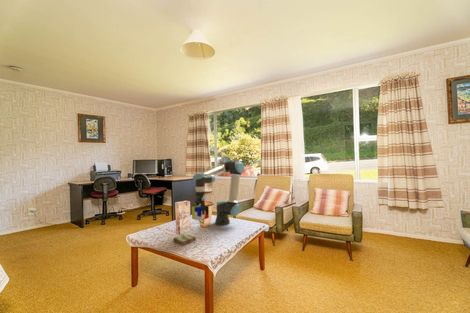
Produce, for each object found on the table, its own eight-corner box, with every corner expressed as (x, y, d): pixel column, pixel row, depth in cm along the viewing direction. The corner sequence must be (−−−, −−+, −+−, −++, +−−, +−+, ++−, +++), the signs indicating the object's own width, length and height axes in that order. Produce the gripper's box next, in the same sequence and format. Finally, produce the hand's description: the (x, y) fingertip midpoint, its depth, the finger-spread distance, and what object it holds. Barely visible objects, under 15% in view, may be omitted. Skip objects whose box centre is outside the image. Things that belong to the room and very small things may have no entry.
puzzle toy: (200, 220, 177) (200, 208, 177) (192, 218, 183) (191, 206, 183) (208, 217, 185) (208, 206, 185) (200, 216, 191) (200, 204, 191)
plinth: (186, 236, 189) (186, 233, 189) (195, 240, 181) (195, 236, 180) (173, 241, 179) (173, 237, 179) (182, 245, 171) (182, 241, 171)
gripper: (191, 189, 193) (191, 213, 193) (200, 193, 172) (200, 220, 172) (199, 189, 197) (199, 212, 197) (209, 193, 175) (209, 219, 175)
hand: (200, 216), depth 184 cm, fingers closed on puzzle toy, 12 cm apart
